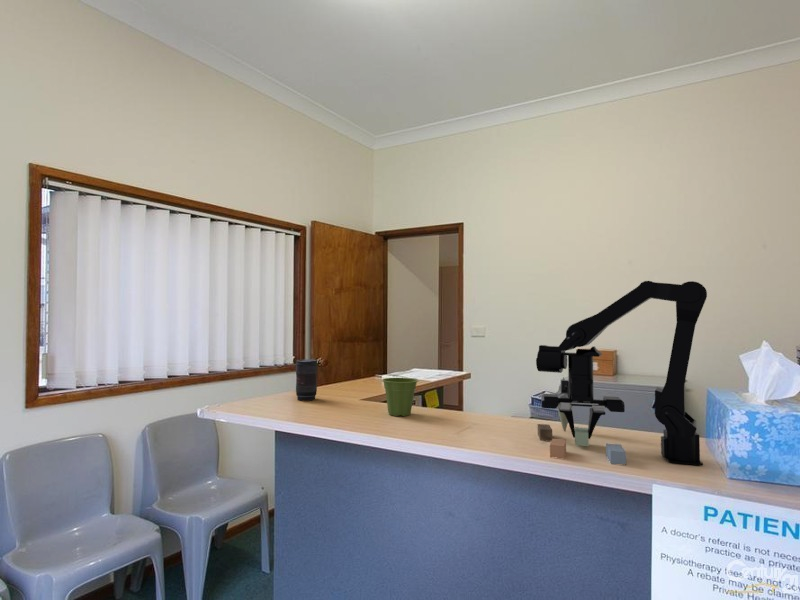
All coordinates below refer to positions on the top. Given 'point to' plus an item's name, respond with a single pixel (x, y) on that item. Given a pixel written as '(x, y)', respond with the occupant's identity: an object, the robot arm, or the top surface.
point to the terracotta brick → (558, 448)
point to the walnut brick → (545, 432)
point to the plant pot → (399, 395)
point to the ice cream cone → (561, 415)
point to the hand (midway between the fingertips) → (581, 437)
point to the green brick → (581, 436)
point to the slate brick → (615, 454)
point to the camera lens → (306, 379)
